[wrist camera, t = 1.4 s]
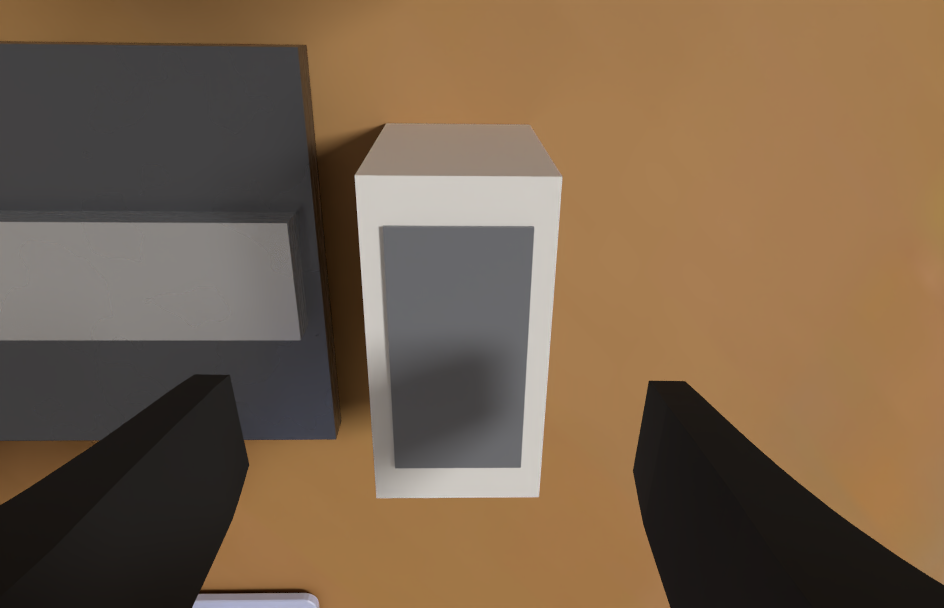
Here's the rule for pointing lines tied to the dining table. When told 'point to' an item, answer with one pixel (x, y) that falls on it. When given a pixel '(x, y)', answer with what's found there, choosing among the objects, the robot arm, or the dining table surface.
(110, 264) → the rail backplate
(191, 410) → the robot arm
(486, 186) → the block
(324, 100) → the dining table surface
